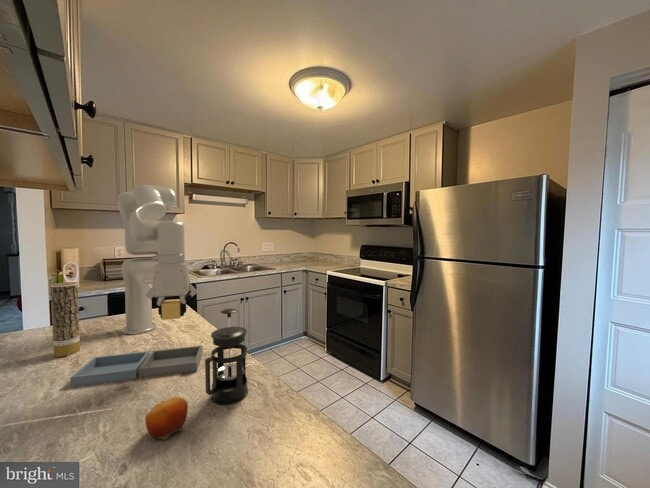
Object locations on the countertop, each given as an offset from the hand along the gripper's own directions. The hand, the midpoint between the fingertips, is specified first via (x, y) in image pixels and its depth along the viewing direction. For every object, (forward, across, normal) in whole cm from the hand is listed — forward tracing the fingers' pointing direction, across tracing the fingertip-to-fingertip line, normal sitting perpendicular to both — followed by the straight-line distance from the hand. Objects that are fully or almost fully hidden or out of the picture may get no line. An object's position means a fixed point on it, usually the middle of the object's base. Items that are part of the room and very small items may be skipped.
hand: (172, 315), depth 88 cm
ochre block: (0, 0, 0) cm, 0 cm away
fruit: (+17, +6, -32) cm, 37 cm away
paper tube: (+17, -38, +20) cm, 46 cm away
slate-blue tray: (+17, -16, 0) cm, 23 cm away
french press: (+17, +18, -22) cm, 33 cm away
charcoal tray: (+17, 0, 0) cm, 17 cm away
